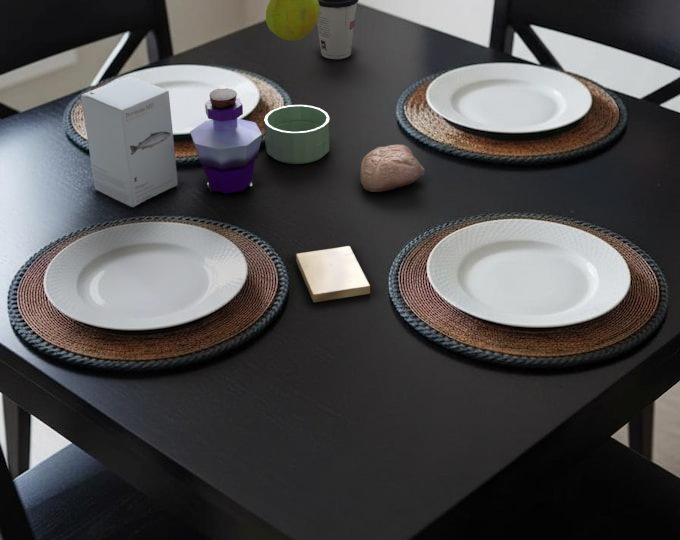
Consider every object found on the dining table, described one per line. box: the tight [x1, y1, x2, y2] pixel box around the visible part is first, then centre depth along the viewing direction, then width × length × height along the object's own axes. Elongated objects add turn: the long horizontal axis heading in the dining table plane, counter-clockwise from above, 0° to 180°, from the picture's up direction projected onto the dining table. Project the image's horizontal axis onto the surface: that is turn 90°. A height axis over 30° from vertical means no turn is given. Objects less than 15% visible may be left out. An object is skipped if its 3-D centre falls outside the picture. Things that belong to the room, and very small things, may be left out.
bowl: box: [263, 104, 331, 165], centre depth 133 cm, size 8×8×4 cm
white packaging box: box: [80, 75, 179, 208], centre depth 123 cm, size 7×7×13 cm
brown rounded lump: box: [359, 143, 425, 193], centre depth 126 cm, size 8×6×8 cm
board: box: [295, 245, 371, 303], centre depth 110 cm, size 6×8×1 cm
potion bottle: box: [189, 88, 263, 196], centre depth 124 cm, size 9×9×12 cm
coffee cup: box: [316, 0, 359, 60], centre depth 159 cm, size 7×7×10 cm
